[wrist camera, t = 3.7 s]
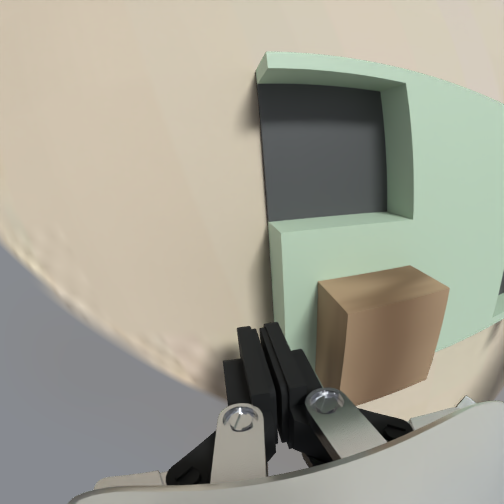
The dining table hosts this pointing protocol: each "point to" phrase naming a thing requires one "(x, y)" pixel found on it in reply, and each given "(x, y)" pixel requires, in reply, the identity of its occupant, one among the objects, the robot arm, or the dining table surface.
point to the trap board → (380, 186)
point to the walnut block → (378, 331)
